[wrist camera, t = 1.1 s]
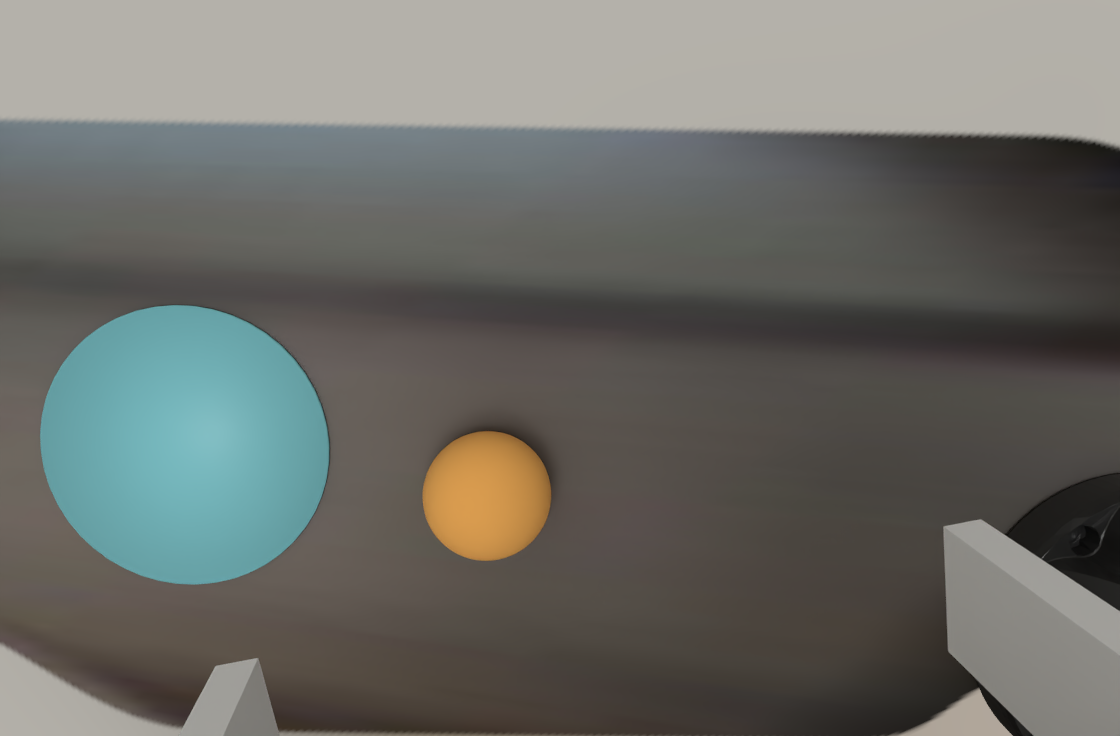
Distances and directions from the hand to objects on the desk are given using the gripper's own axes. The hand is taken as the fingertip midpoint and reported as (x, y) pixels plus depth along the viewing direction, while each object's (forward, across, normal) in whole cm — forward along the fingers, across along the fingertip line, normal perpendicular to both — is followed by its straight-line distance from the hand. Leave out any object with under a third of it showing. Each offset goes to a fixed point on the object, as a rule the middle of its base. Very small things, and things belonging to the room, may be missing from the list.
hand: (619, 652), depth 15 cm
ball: (+19, +3, +4) cm, 20 cm away
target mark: (+23, +16, +1) cm, 28 cm away
